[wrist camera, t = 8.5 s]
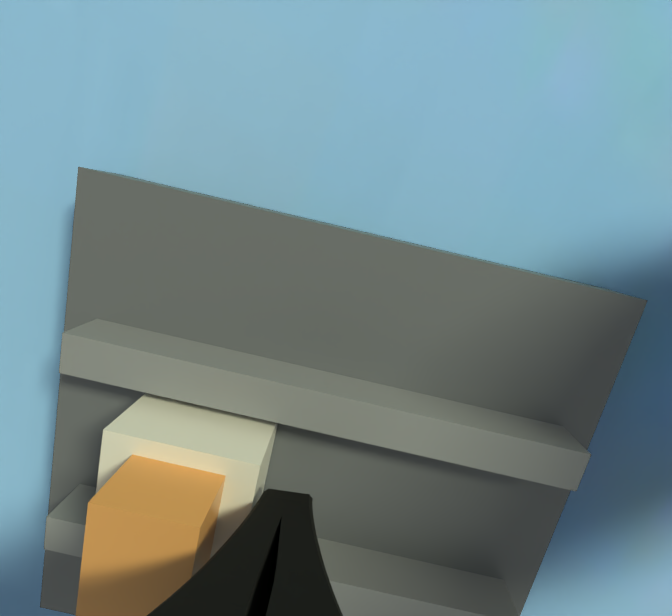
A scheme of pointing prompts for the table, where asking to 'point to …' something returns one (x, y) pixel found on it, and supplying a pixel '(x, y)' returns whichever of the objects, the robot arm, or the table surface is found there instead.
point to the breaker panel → (340, 386)
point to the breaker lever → (166, 500)
